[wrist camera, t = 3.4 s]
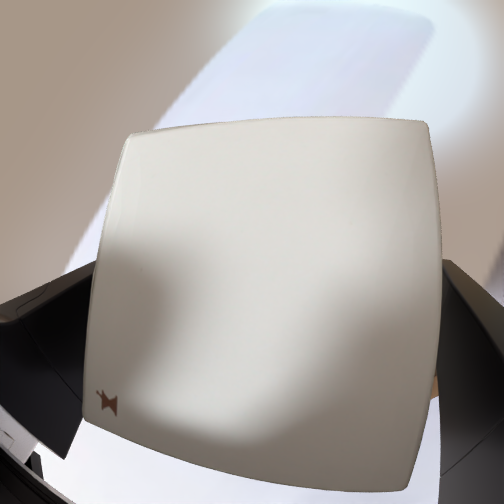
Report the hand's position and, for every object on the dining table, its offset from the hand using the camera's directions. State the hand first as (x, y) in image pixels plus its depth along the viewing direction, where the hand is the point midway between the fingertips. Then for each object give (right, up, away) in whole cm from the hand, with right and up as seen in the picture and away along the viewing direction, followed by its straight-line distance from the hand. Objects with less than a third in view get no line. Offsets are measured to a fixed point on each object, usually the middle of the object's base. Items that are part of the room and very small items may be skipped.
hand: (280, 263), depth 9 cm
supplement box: (+2, -3, +8) cm, 9 cm away
